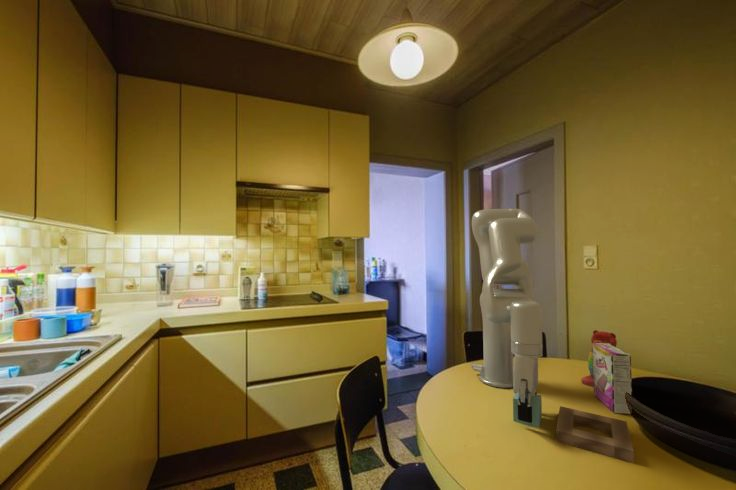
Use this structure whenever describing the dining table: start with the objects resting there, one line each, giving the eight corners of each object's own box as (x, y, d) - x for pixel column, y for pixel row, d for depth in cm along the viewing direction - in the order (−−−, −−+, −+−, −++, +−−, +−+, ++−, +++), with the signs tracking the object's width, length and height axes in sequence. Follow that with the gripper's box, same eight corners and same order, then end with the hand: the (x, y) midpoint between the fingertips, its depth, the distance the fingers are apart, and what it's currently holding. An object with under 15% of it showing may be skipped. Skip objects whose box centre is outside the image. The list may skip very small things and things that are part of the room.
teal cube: (513, 421, 83) (513, 398, 83) (517, 411, 88) (517, 389, 88) (539, 428, 80) (538, 404, 80) (541, 417, 85) (541, 395, 85)
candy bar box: (592, 395, 97) (591, 342, 98) (610, 397, 96) (609, 342, 97) (612, 413, 86) (611, 353, 87) (633, 415, 85) (632, 354, 86)
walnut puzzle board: (556, 440, 74) (556, 430, 74) (560, 415, 86) (559, 406, 86) (633, 463, 66) (633, 451, 66) (626, 431, 78) (626, 421, 78)
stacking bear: (578, 382, 107) (577, 329, 108) (597, 377, 111) (595, 326, 112) (613, 395, 97) (612, 337, 98) (632, 389, 101) (631, 333, 102)
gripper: (516, 338, 94) (518, 397, 93) (504, 354, 79) (506, 423, 79) (545, 342, 89) (547, 403, 89) (538, 359, 75) (540, 432, 74)
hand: (527, 412), depth 84 cm, fingers open, 9 cm apart
